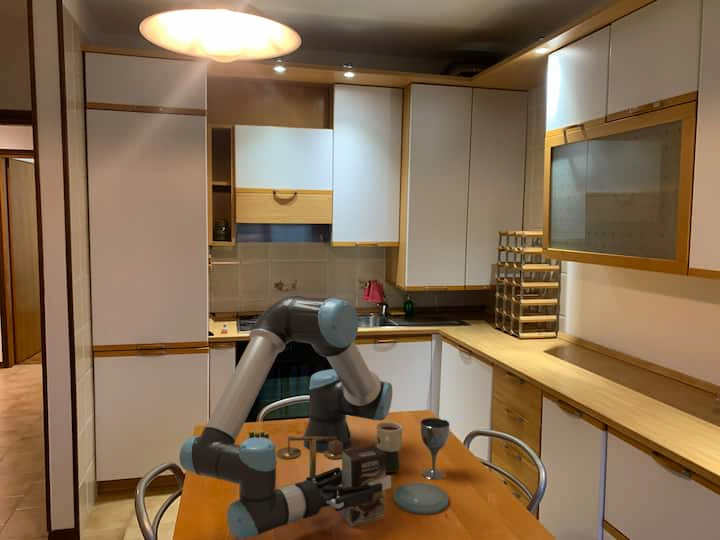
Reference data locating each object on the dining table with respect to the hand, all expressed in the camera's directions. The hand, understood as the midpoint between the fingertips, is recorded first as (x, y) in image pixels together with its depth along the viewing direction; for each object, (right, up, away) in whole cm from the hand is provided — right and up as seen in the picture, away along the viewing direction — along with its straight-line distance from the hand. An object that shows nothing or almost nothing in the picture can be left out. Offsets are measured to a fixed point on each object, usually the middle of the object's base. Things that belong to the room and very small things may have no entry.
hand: (379, 475), depth 137 cm
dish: (+11, -9, +6) cm, 15 cm away
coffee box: (-4, -9, -2) cm, 10 cm away
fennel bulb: (-33, -7, +20) cm, 39 cm away
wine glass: (+16, -8, +21) cm, 28 cm away
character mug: (+3, -7, +23) cm, 24 cm away
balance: (-17, -8, +7) cm, 20 cm away
